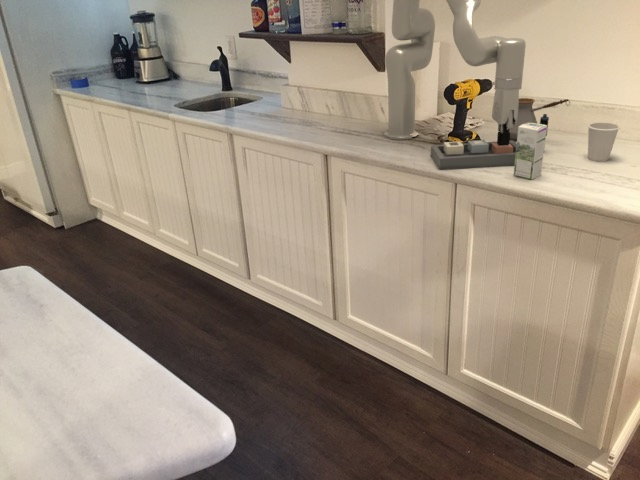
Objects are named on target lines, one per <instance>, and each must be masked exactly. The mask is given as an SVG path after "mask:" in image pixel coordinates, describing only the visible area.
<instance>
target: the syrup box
mask: <svg viewBox="0 0 640 480" xmlns="http://www.w3.org/2000/svg"><path fill="white" fill-rule="evenodd" d="M546 131H547V132H548V128H547V125H542V124H540V123H537V124H535V123H524V124H522V125H521V126H519V127H518V136H517V140H516V144H517V146H516V156H515V166H513V168H514V170H513V176H514V177H518V178H522V179H526V180H531V181H532V180H534V179H536V178H539V177H540V176H541V175H542V173H543V171H542V170H543V161H544V160H543V159H544V153H545V147H546V139H547V138H546V137H547V136H546ZM544 146H545V147H544Z"/></svg>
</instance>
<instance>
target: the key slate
mask: <svg viewBox="0 0 640 480" xmlns="http://www.w3.org/2000/svg"><path fill="white" fill-rule="evenodd" d="M487 142H488V141H486V140H485V139H478V140H476V139H475V140H468V141H467V143H468V149H469V151H470V152H471V153H482V152H488V148H489V144H488V143H487Z"/></svg>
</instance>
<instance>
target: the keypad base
mask: <svg viewBox="0 0 640 480" xmlns="http://www.w3.org/2000/svg"><path fill="white" fill-rule="evenodd" d="M486 142H487V143H488V144H489V148H488V152H482V153H471V152H470V151H469V149H468V142H466V143H465V142H463V143H462V144H463V146H464V152H463V154H449V155H447V154H446V153H445V151H444V144H433V145H431V146H430V147H431V148H430V157H431V158H432V160H433V161H434V164H435V165H436V166H437V168H438V170H439V171H445V170H446V171H447V170H460V169H463V170H464V169H478V168H495V167H511V166H513V167H515V156H516V146H517V142H516V141H515V140H509V144H511V145H512V146H513V153H500V154H494V153H493V152H492V151H491V150H492V143H497V140H496V141H486Z"/></svg>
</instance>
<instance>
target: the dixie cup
mask: <svg viewBox="0 0 640 480" xmlns="http://www.w3.org/2000/svg"><path fill="white" fill-rule="evenodd" d="M587 127H588V137H587V138H588V139H587V159H588V160H590V161H593V162H608V161H609V160H610V156H611V154H612V150H613V147H614V144H615V141H616V138H617V135H618V131H619V130H620V128H621V126H620V125H619V124H617V123H612V122H606V121H604V122H603V121H600V122H599V121H597V122H592V123H589V124H588V125H587Z"/></svg>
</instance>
